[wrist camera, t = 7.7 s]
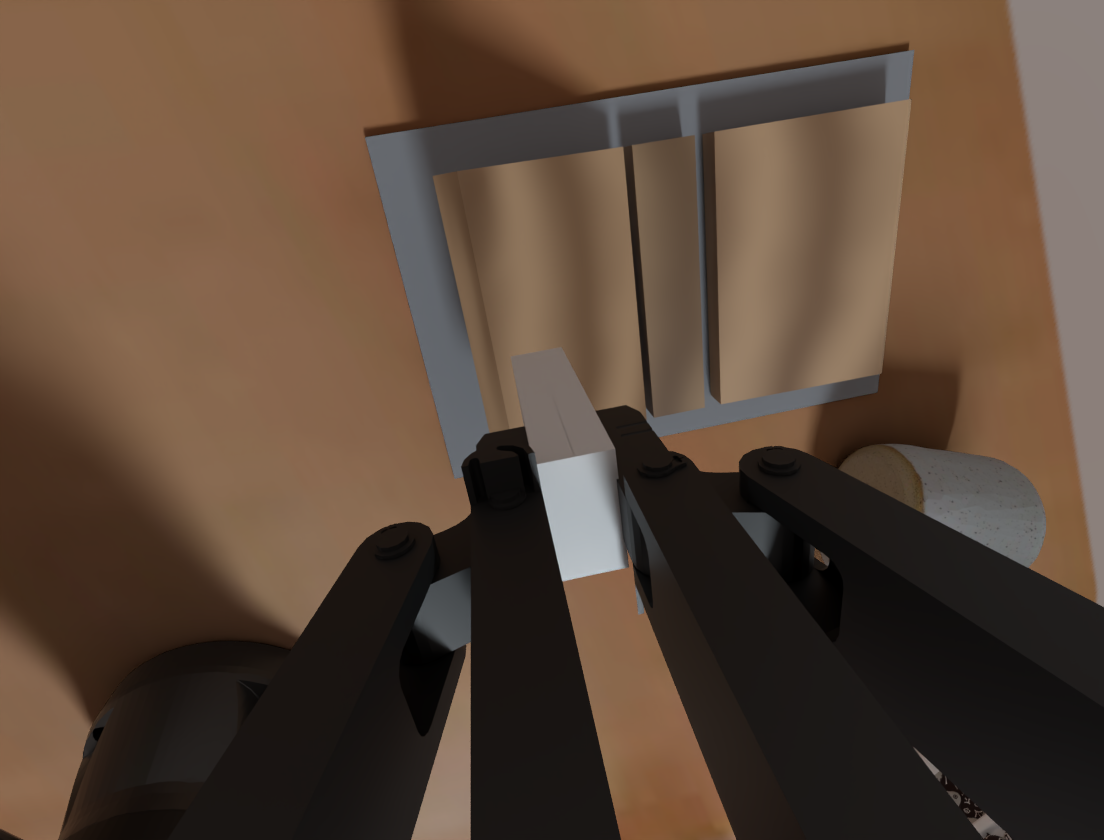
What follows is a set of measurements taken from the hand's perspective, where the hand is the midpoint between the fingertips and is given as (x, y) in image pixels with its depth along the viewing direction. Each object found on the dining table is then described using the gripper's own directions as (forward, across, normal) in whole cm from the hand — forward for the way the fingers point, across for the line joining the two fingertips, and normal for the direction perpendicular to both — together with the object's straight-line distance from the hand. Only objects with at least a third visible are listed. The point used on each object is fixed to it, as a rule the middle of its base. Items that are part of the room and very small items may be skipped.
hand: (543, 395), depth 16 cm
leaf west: (+9, +1, 0) cm, 9 cm away
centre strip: (+12, +8, 0) cm, 14 cm away
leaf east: (+12, +14, 0) cm, 19 cm away
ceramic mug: (+13, +21, -16) cm, 30 cm away
